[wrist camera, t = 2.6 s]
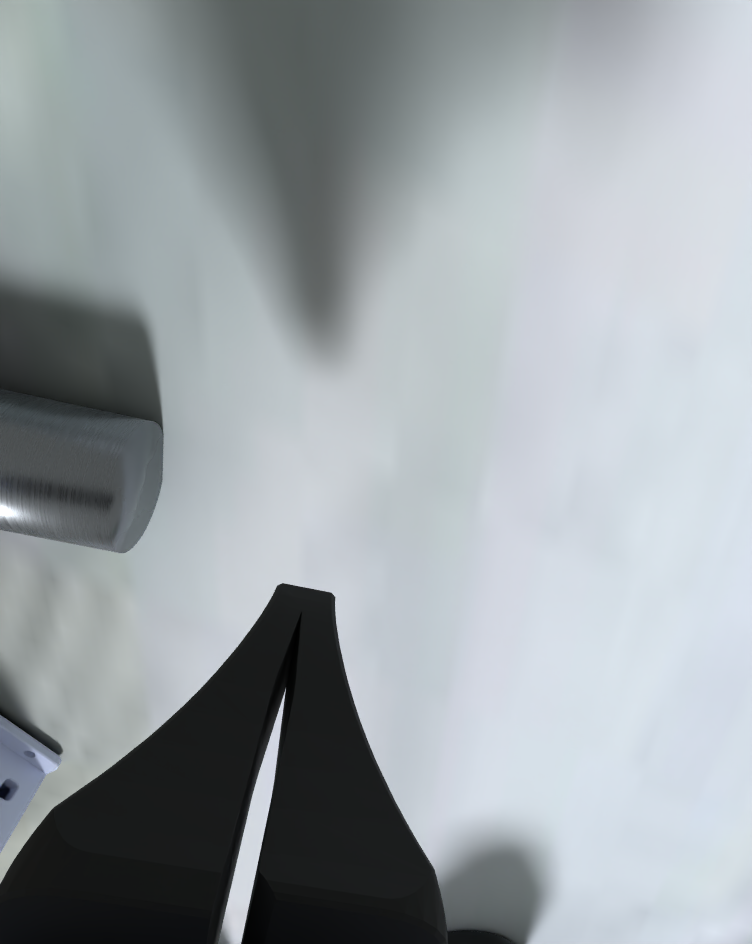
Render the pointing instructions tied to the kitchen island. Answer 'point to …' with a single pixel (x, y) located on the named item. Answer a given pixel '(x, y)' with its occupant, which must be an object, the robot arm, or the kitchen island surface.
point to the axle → (77, 472)
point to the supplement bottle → (475, 938)
